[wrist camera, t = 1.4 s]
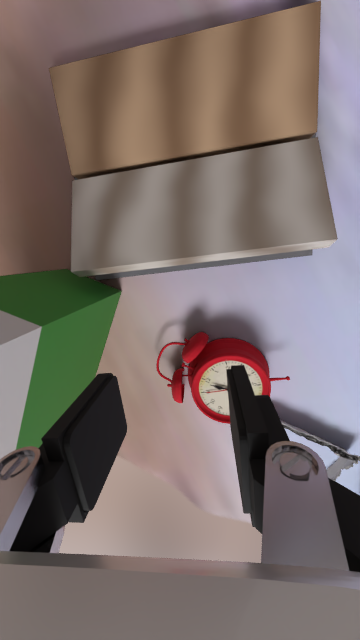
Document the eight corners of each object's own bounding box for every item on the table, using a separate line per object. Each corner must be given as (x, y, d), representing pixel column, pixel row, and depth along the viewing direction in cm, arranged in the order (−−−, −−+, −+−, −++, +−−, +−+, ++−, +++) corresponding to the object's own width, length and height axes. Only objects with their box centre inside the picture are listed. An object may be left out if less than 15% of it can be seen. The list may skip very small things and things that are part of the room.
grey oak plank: (310, 151, 23) (317, 137, 21) (328, 247, 21) (337, 239, 19) (80, 190, 26) (72, 180, 24) (79, 277, 24) (70, 271, 23)
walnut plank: (312, 18, 20) (320, 0, 19) (309, 138, 23) (317, 131, 21) (58, 79, 23) (48, 68, 22) (79, 179, 26) (71, 175, 24)
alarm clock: (262, 440, 29) (145, 419, 26) (243, 406, 35) (146, 385, 32) (301, 370, 26) (175, 336, 23) (274, 345, 32) (170, 315, 29)
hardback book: (87, 401, 34) (-150, 701, 11) (40, 383, 34) (-294, 646, 11) (121, 290, 29) (-184, 427, 6) (66, 268, 29) (-447, 324, 6)
